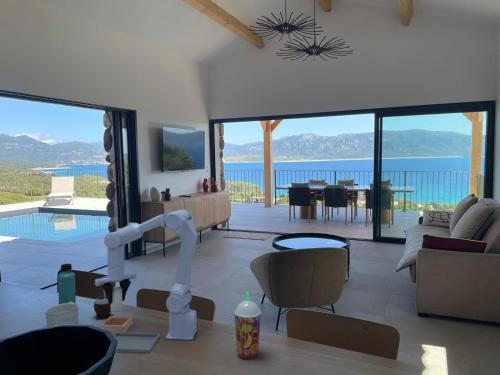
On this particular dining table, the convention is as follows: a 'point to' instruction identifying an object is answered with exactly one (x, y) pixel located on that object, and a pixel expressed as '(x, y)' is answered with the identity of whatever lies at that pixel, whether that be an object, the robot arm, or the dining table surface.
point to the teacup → (62, 314)
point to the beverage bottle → (66, 285)
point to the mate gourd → (102, 307)
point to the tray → (136, 342)
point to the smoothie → (247, 328)
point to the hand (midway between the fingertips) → (116, 301)
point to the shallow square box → (117, 324)
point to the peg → (116, 299)
